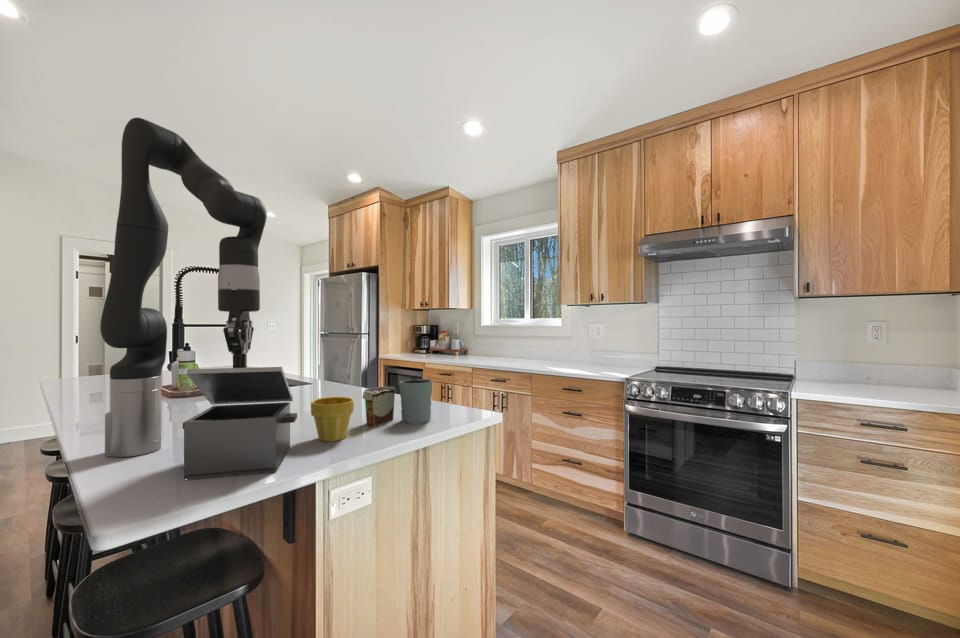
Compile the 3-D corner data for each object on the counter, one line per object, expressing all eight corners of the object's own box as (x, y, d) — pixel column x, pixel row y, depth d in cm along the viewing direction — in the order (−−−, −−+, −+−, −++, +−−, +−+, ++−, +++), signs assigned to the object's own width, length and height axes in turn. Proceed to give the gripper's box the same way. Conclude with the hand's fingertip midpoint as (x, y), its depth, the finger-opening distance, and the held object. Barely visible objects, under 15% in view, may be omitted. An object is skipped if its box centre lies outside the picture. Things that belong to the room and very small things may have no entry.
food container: (379, 417, 132) (379, 385, 132) (396, 419, 129) (396, 386, 129) (353, 426, 120) (353, 391, 120) (371, 428, 118) (371, 393, 118)
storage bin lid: (186, 373, 82) (189, 362, 83) (211, 404, 95) (213, 394, 97) (281, 371, 86) (282, 360, 88) (292, 401, 100) (293, 391, 101)
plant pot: (345, 444, 103) (345, 404, 103) (303, 443, 103) (303, 404, 103) (358, 432, 114) (358, 396, 114) (320, 432, 114) (320, 396, 114)
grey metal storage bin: (169, 481, 79) (169, 422, 79) (201, 455, 95) (201, 406, 95) (289, 471, 85) (289, 416, 85) (300, 447, 100) (301, 401, 100)
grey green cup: (405, 425, 121) (405, 384, 121) (394, 418, 130) (394, 379, 130) (438, 421, 126) (438, 381, 126) (425, 415, 135) (425, 377, 135)
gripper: (228, 290, 93) (229, 369, 93) (207, 285, 80) (207, 377, 80) (266, 291, 95) (266, 368, 95) (251, 286, 82) (251, 375, 82)
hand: (239, 372), depth 87 cm, fingers closed
